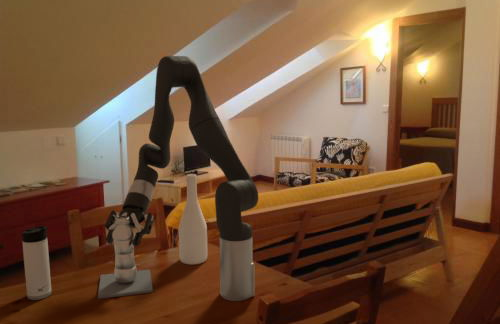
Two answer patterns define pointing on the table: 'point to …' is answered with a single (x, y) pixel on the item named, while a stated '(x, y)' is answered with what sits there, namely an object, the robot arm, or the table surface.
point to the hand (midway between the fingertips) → (121, 244)
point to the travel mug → (36, 263)
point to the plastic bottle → (124, 251)
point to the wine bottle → (192, 227)
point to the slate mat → (124, 285)
